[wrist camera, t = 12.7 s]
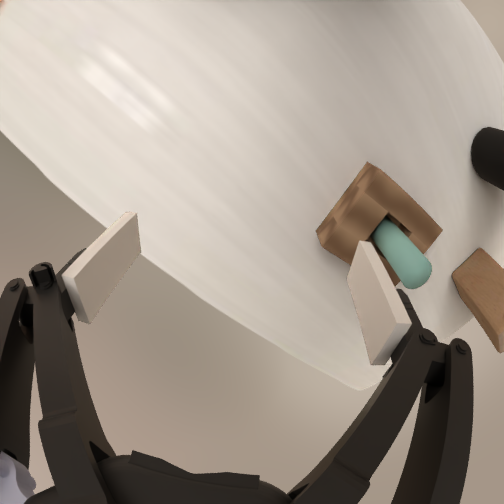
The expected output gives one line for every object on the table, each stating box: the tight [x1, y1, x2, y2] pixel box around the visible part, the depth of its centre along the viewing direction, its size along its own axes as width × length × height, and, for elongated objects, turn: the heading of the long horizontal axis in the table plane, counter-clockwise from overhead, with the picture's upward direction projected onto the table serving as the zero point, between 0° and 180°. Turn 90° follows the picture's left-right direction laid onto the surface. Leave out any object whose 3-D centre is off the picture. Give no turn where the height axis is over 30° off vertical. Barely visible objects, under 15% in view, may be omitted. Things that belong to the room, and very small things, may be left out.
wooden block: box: [452, 248, 504, 353], centre depth 37 cm, size 10×10×20 cm
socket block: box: [316, 162, 443, 286], centre depth 40 cm, size 14×16×6 cm
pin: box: [370, 215, 432, 289], centre depth 35 cm, size 4×4×14 cm
